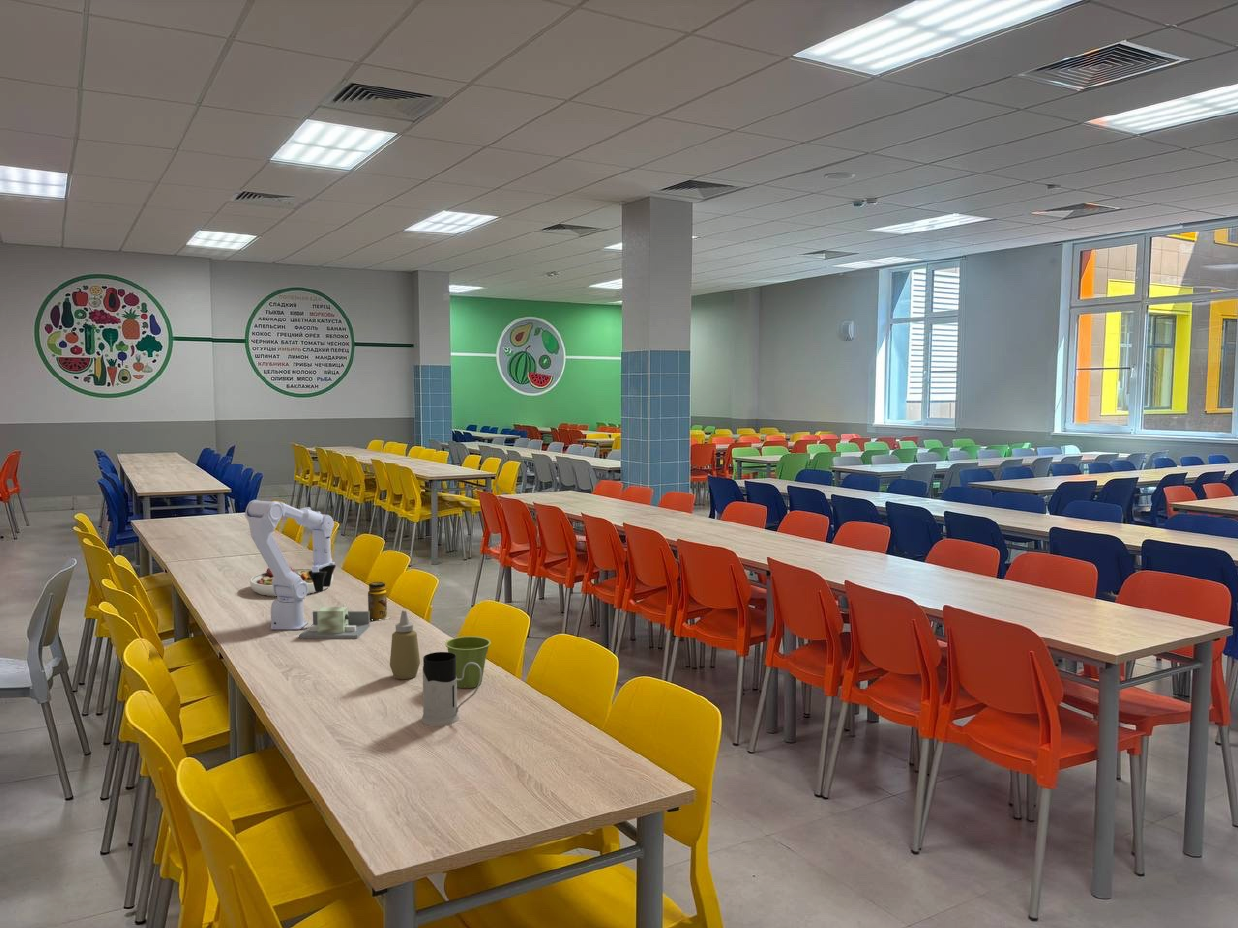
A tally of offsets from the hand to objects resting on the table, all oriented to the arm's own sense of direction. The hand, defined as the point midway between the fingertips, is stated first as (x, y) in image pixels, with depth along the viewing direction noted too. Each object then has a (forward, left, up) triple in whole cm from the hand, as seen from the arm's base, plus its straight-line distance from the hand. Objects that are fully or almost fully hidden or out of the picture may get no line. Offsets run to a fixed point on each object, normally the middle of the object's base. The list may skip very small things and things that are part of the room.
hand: (322, 589), depth 292 cm
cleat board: (+10, -19, -9) cm, 23 cm away
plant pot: (+60, -67, -10) cm, 90 cm away
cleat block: (+10, -21, -8) cm, 25 cm away
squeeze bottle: (+42, -61, -10) cm, 75 cm away
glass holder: (+60, -91, -10) cm, 109 cm away
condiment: (+18, -2, -10) cm, 21 cm away
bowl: (-25, +40, -10) cm, 48 cm away
